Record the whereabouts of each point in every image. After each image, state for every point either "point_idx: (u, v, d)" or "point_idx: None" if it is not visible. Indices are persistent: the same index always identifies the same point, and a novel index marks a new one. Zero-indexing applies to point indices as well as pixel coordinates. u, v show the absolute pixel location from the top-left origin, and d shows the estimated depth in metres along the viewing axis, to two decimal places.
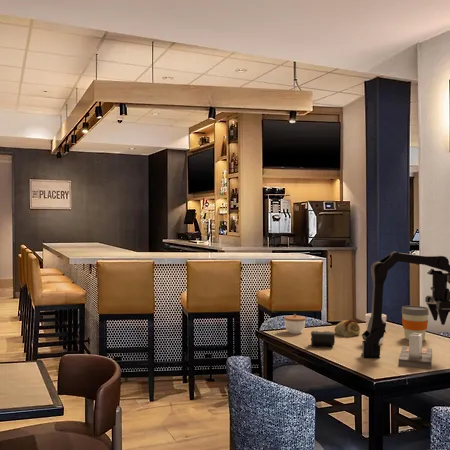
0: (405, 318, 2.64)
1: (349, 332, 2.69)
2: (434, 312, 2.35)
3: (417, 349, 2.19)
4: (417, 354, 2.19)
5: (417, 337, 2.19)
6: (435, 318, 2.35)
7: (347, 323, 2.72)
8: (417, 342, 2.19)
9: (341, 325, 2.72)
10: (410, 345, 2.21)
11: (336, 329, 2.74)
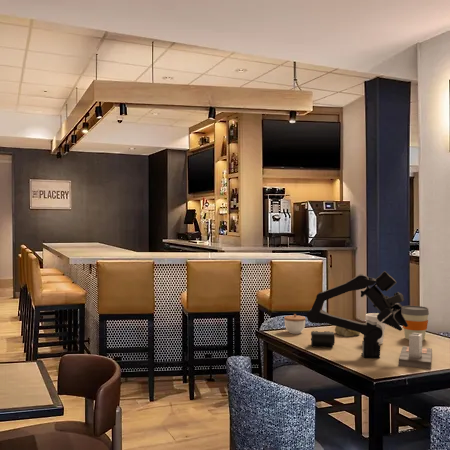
0: (405, 318, 2.64)
1: (349, 332, 2.70)
2: (401, 320, 2.30)
3: (417, 349, 2.19)
4: (417, 354, 2.19)
5: (417, 337, 2.19)
6: (405, 324, 2.28)
7: None
8: (417, 342, 2.19)
9: None
10: (410, 345, 2.21)
11: (336, 329, 2.75)
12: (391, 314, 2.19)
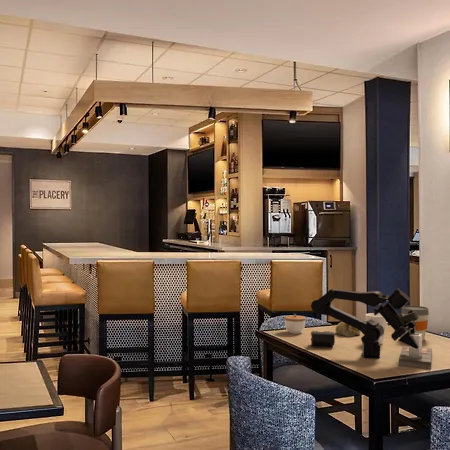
0: None
1: (350, 332, 2.70)
2: None
3: (417, 349, 2.19)
4: (417, 354, 2.19)
5: (417, 337, 2.19)
6: None
7: None
8: (417, 342, 2.19)
9: (342, 325, 2.72)
10: None
11: (337, 329, 2.75)
12: (407, 332, 2.18)
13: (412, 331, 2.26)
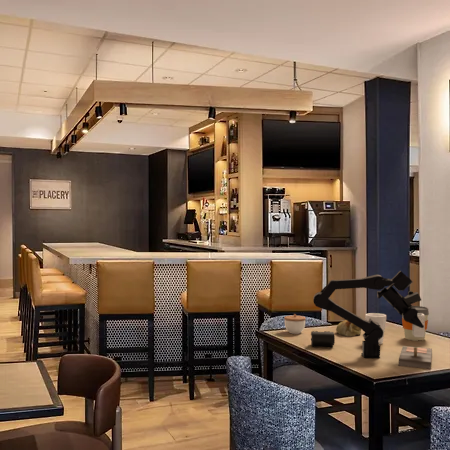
0: None
1: (351, 332, 2.71)
2: None
3: (423, 328, 2.26)
4: (422, 333, 2.26)
5: (423, 317, 2.26)
6: None
7: (349, 323, 2.73)
8: (423, 321, 2.26)
9: (343, 325, 2.73)
10: None
11: (338, 329, 2.75)
12: (416, 312, 2.23)
13: None
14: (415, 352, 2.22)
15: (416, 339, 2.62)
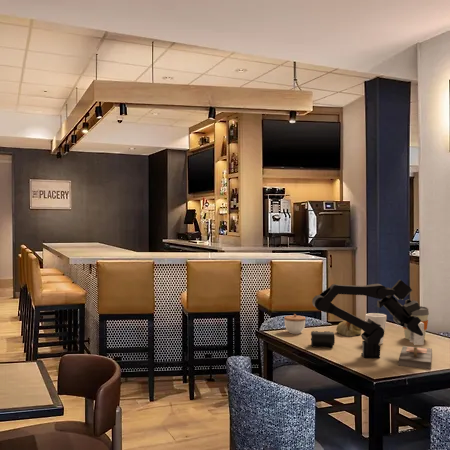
0: None
1: (351, 331, 2.71)
2: None
3: (422, 336, 2.30)
4: (422, 341, 2.30)
5: (422, 325, 2.30)
6: None
7: None
8: (422, 329, 2.30)
9: (343, 324, 2.73)
10: (415, 333, 2.30)
11: (338, 328, 2.76)
12: None
13: None
14: (415, 352, 2.22)
15: None
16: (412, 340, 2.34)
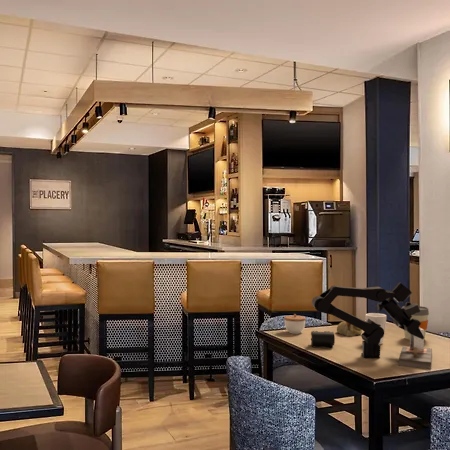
0: None
1: (352, 331, 2.71)
2: None
3: (422, 342, 2.30)
4: (422, 347, 2.30)
5: (422, 331, 2.30)
6: None
7: None
8: None
9: (344, 324, 2.73)
10: (415, 340, 2.30)
11: (338, 328, 2.76)
12: None
13: None
14: (415, 352, 2.22)
15: None
16: (412, 346, 2.34)
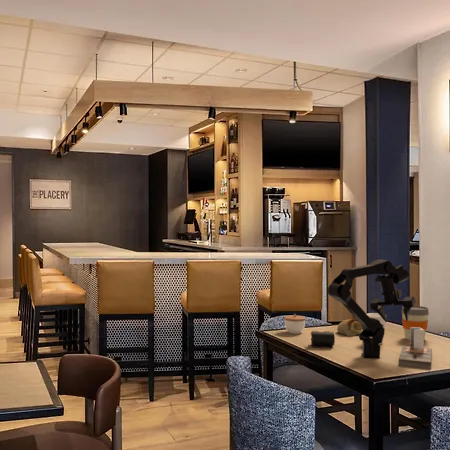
0: (405, 318, 2.64)
1: (352, 331, 2.72)
2: (384, 315, 2.40)
3: (422, 342, 2.30)
4: (422, 347, 2.30)
5: (422, 331, 2.30)
6: (386, 320, 2.40)
7: (350, 322, 2.74)
8: (422, 336, 2.30)
9: (344, 324, 2.74)
10: (415, 340, 2.30)
11: (339, 328, 2.76)
12: None
13: (383, 307, 2.41)
14: (415, 352, 2.22)
15: None
16: (412, 346, 2.34)
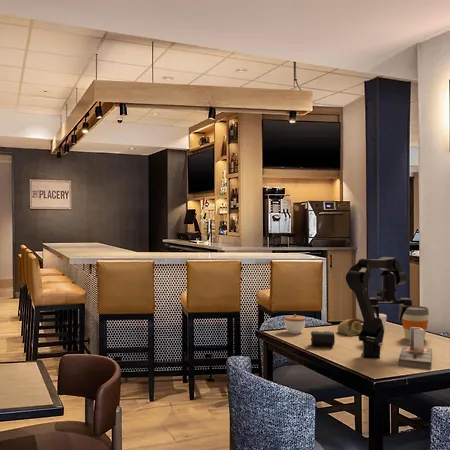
0: (405, 318, 2.64)
1: (353, 331, 2.72)
2: None
3: (422, 342, 2.30)
4: (422, 347, 2.30)
5: (422, 331, 2.30)
6: None
7: (350, 322, 2.74)
8: (422, 336, 2.30)
9: (345, 324, 2.74)
10: (415, 340, 2.30)
11: (339, 328, 2.77)
12: None
13: None
14: (415, 352, 2.22)
15: None
16: (412, 346, 2.34)
